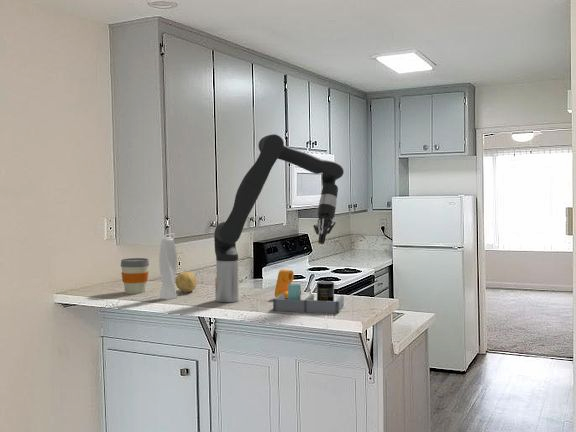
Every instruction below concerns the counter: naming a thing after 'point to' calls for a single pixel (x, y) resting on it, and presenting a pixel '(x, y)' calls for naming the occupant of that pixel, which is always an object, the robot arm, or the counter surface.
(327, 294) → the supplement container
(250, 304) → the counter surface
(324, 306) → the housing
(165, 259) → the skyscraper
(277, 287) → the bracket
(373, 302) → the counter surface
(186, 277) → the potato
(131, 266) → the reusable coffee cup
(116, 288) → the counter surface
